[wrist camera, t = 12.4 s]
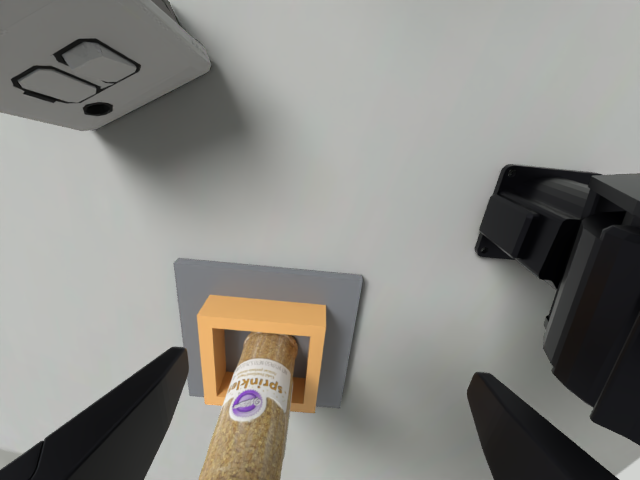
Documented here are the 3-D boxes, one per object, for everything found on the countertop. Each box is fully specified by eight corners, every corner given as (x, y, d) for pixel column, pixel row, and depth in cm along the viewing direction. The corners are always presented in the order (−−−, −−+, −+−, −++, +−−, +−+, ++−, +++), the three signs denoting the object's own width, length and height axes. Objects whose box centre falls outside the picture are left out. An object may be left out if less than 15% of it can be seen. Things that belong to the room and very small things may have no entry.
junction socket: (361, 274, 23) (367, 300, 20) (339, 400, 28) (341, 435, 25) (178, 258, 23) (155, 281, 19) (193, 388, 28) (177, 421, 25)
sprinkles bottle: (286, 318, 24) (243, 545, 11) (306, 359, 25) (287, 594, 13) (234, 332, 24) (140, 561, 12) (257, 371, 26) (195, 606, 14)
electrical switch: (93, 133, 19) (-116, 129, 10) (41, 48, 18) (-254, -43, 9) (219, 69, 17) (100, -2, 9) (174, -31, 16) (-24, -237, 7)
